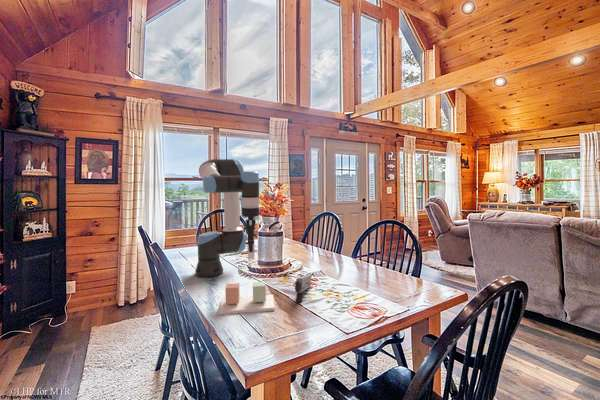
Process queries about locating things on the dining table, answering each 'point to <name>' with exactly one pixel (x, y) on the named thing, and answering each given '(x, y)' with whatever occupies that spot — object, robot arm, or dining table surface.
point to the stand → (243, 302)
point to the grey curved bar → (302, 286)
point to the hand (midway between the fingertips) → (251, 254)
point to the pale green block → (259, 292)
